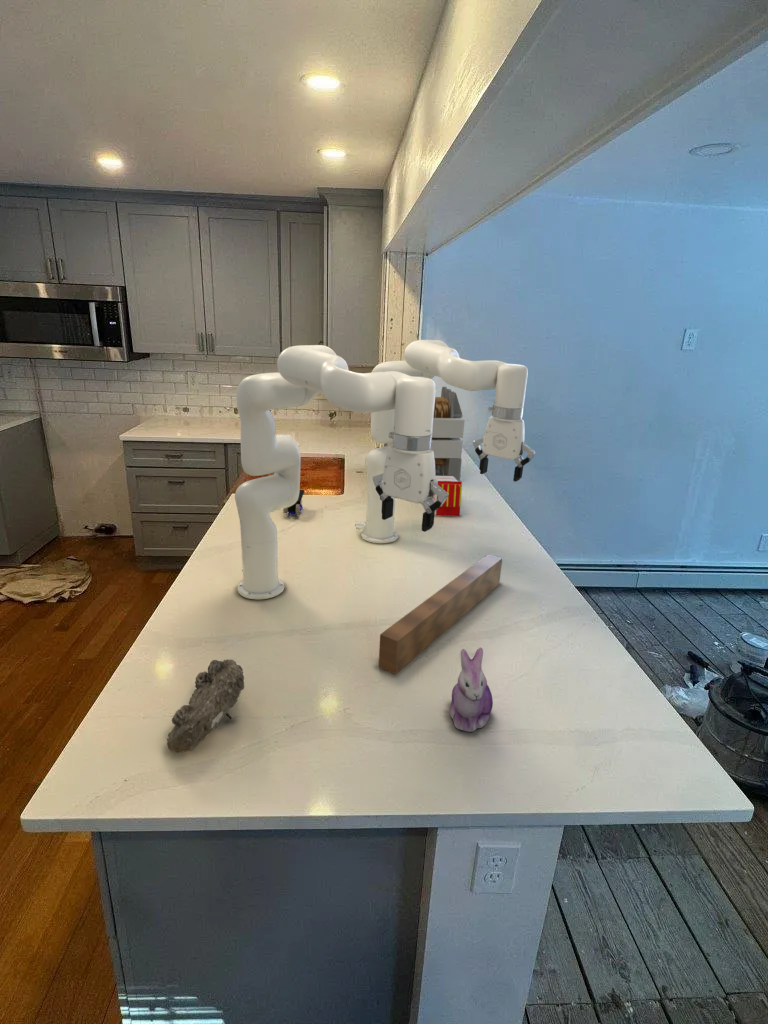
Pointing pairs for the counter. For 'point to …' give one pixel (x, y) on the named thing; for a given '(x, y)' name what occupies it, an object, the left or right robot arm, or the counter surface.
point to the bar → (437, 614)
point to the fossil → (206, 705)
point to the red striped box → (454, 498)
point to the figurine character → (295, 506)
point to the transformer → (447, 434)
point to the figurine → (471, 694)
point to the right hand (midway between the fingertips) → (499, 476)
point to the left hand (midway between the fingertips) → (406, 523)
